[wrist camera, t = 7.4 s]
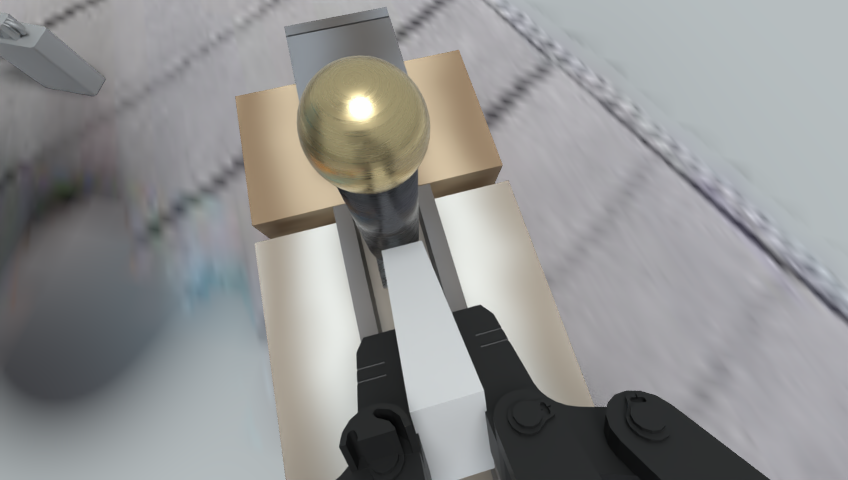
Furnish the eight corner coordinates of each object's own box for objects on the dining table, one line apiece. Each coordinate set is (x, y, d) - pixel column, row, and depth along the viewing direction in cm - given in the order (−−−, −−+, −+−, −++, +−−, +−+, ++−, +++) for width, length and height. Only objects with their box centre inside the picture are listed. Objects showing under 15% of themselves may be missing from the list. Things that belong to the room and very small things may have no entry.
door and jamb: (328, 551, 17) (256, 711, 10) (264, 135, 24) (193, 39, 17) (586, 466, 19) (701, 549, 11) (452, 94, 26) (466, -13, 18)
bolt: (375, 293, 17) (291, 192, 6) (329, 96, 20) (222, -201, 9) (434, 278, 17) (460, 153, 6) (379, 85, 21) (333, -216, 10)
